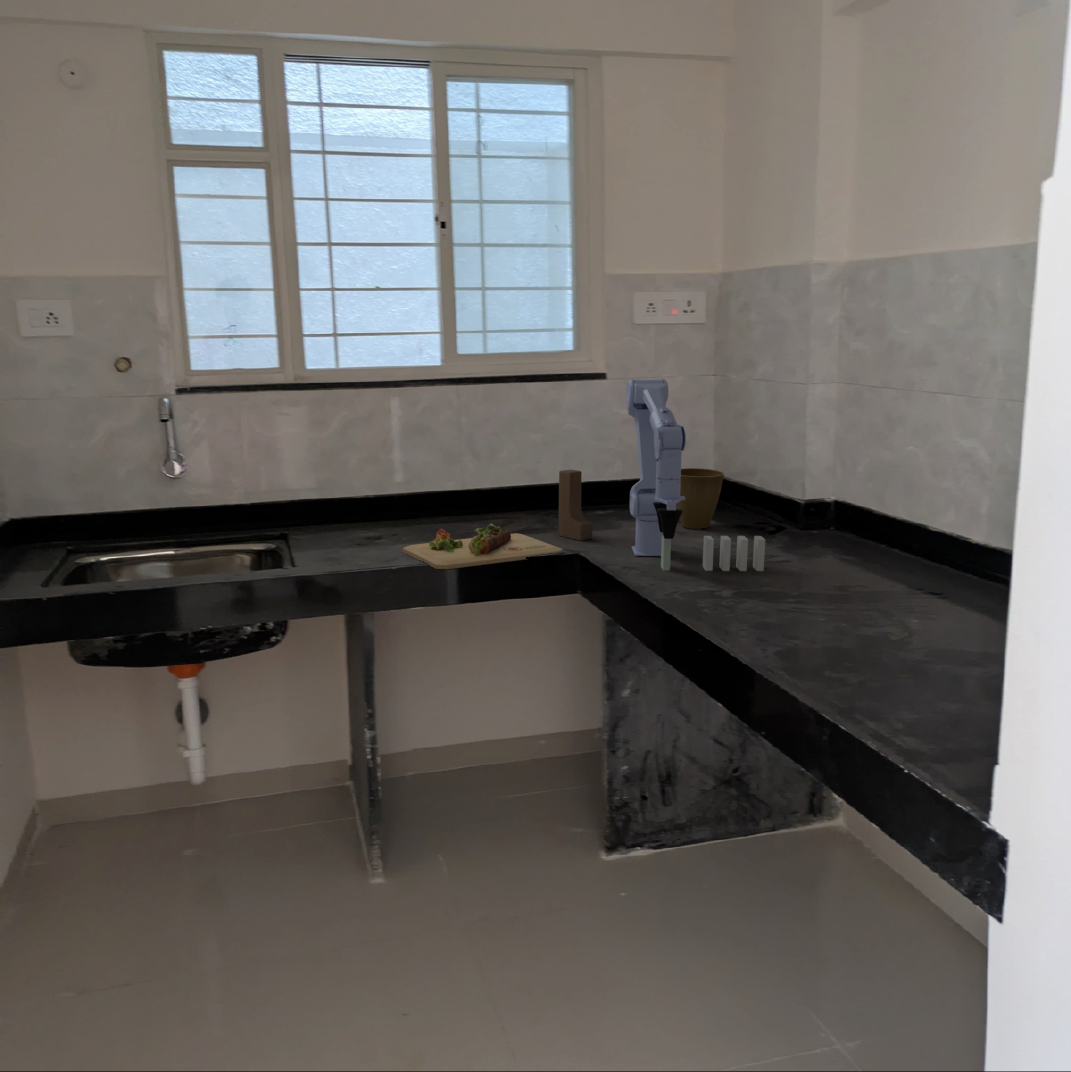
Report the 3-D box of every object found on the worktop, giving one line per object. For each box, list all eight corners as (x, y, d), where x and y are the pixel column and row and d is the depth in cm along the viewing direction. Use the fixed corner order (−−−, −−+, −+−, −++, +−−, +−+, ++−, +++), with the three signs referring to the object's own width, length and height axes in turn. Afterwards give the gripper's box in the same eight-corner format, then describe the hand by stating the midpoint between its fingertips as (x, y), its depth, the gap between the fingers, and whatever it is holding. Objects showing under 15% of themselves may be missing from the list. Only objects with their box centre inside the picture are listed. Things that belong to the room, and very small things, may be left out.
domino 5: (752, 566, 235) (754, 536, 234) (759, 566, 235) (761, 536, 234) (756, 571, 231) (758, 539, 229) (763, 571, 231) (765, 539, 229)
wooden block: (592, 538, 265) (593, 472, 262) (580, 541, 263) (581, 474, 259) (569, 533, 272) (570, 469, 268) (557, 535, 269) (558, 470, 266)
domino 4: (736, 566, 235) (737, 535, 234) (742, 566, 235) (744, 535, 234) (739, 571, 231) (741, 539, 229) (746, 571, 231) (748, 539, 229)
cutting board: (438, 573, 230) (438, 541, 229) (400, 553, 250) (399, 524, 249) (565, 556, 248) (566, 527, 246) (520, 539, 267) (520, 512, 266)
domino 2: (702, 566, 235) (703, 535, 234) (709, 566, 235) (710, 535, 234) (705, 570, 231) (707, 539, 229) (712, 570, 231) (713, 539, 229)
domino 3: (719, 566, 235) (720, 535, 234) (726, 566, 235) (727, 535, 234) (722, 570, 231) (724, 539, 229) (729, 570, 231) (731, 539, 229)
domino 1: (660, 566, 235) (661, 535, 234) (667, 566, 235) (668, 535, 234) (663, 570, 231) (664, 539, 229) (669, 570, 231) (671, 539, 229)
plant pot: (659, 524, 286) (660, 469, 282) (702, 520, 292) (704, 467, 288) (687, 534, 272) (689, 476, 269) (732, 529, 279) (734, 473, 275)
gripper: (690, 482, 222) (688, 541, 224) (681, 473, 236) (679, 529, 239) (659, 482, 222) (657, 541, 224) (651, 473, 236) (650, 529, 239)
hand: (666, 535), depth 231 cm, fingers open, 7 cm apart
